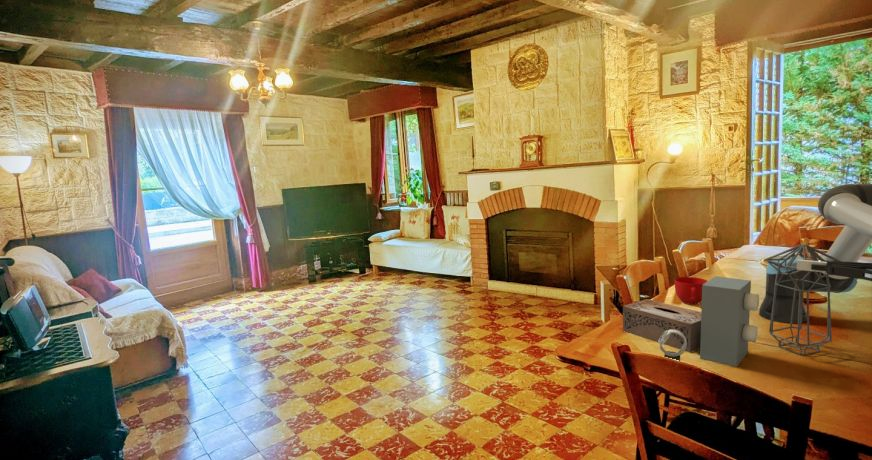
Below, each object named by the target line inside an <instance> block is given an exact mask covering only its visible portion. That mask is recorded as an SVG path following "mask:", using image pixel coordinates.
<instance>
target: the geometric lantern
mask: <svg viewBox="0 0 872 460" xmlns="http://www.w3.org/2000/svg"><path fill="white" fill-rule="evenodd" d="M825 253H826V252H823V251H820V249H817V248H815V247H813V246H810V245H808V244H804V243H801V244H798V245H796V246H794V247H791V248H789V249H786V250H784V251H782V252H779V253H776V254H774V255H772V256H770V257H767V258H764V259H763V260H764V262H766V263H769V264H770V265H771V266H772V267H774V268H775V269H776V270H777V275H776V280H775V289H774V300H773V307H772V314H771V320H770V319H769V320H770V322H769V328H768V333H769V334H770V335H771V337H773V338H774V339H775V340H776V341H777V342H778V345H777V347H778V348H780V349H783V350H785V351H789V352H790V353H791V352H792V353H795V354H797V355H800V356H807V355H811V354H815V353H819V352H820V346H822V345H826V344H828V343H831V342H833V338H832V337H833V336H832V318H831V317H832V315H831V313H832V312H831V292H830V287H831V285H830V283H829V277H828V275H829V274H826V273H825V274H826V275H823V276H821V272H820V275H819V274H818V273H817V272H815V271H813V272H814V273H815V274H816V275H817V276H818V277H819V278H818V280H819V279H820V278H823V277H827V285H825V284H820V283H816V282H817V281H818V280H817V281H816V282H811V281H807V280H804V279H805V278H806V277H807V276H808V275H809V274H810V273H811V272H812V271H809V272H808V273H807V274H806V275H805V277H804V278H803V279H802V280H801V279H799V278H798V277H797V276H796V275H795V273H798V272H801V271H803V270H798V271H795V272H793V271H792V270H791V268H794V269H797V267H791V264H792V263H793V261H794V260H795V258H796V257H802V258H803V259H804V260H808V259H809V260H810V261H818V260H819V261H821V262H827V261H828V260H824V259H823V258H822V257H820V255H821V254H822V255H824V256H826V257H828V258H830V259H832V260H834V261H839V260H837V259H835V258H833V257H831V256H829V255H827V254H825ZM781 255H783V256H781ZM807 255H808V256H807ZM787 256H788V257H787ZM777 257H781V258H779V259H773V258H777ZM784 257H787V258H784ZM791 257H792V258H791ZM783 258H784V259H783ZM790 258H791V260H790V261H789V263H788V264H787V266H786V261H787V260H788V259H790ZM817 258H818V259H817ZM780 260H784V261H782V262H781V263H779V261H780ZM774 261H778V262H774ZM784 262H785V266H784V265H782V264H783V263H784ZM830 262H832V261H830ZM773 264H774V265H776V266H778V269H777V268H776V267H775V266H774V265H773ZM777 264H778V265H777ZM780 268H786V270H787V273H782V272H781V271H780ZM788 268H789V269H790V270H791V271H792V273H788ZM778 274H782V276H783V275H789V276H790V278H791V279H790V280H785V281H780V280H781V278H782V276H781V278H780V280H779V281H778V282H777V279H778ZM792 274H794V275H795V276H796V277H797V279H793V277H792V276H791V275H792ZM791 280H792V281H793V282H794V284H795V289H794V288H790V287H786V286H782V285H779V283H780V282H786V281H791ZM797 281H802V290H801V289H800V288H799V286H798V285H797ZM804 281H806V282H811V283H814V284H813V285H812V286H811V288H812V287H813V286H814V285H815V284H820V285H824V286H827V288H821V289H815V290H810V289H811V288H810V289H809V290H810V291H809V290H808V291H805V290H804ZM777 286H782V287H786V288H789V289H793V290H794V298H793V306H792V315H791V323H789V324H790V325H789V326H787V327H782V328H781V327H780V328H778V329H774V322H775V321H774V311H775V300H776V293H777ZM797 288H798V289H799V290H798V289H797ZM822 289H827V292H826V293H827V314H826V315H827V321H826V322H827V323H826V324H827V325H826V327H827V329H826V333H827V334H826V335H825V334H822V333H818V332H816V331H813V330H810V301H809V300H810V292H811V291H817V290H822ZM796 290H797V291H800V292H799V309H798V323H797V326H793V324H794V323H793V315H794V306H795V298H796ZM801 292H802V294H801ZM804 293H806V312H807V321H806V328H804V327H803V322H802V315H803V303H804ZM811 293H812V292H811ZM800 312H801V315H800ZM787 329H789V330H790V334H791V336H789V337H785V338H784V337H782V336H779V335H777V334H774V332H779V331H783V330H787ZM793 329H797V332H796V335H795V336H794V333H793ZM801 330H802V331H806V334H807V335H806V336H807V337H806V339H804V338H801V337H800V331H801ZM810 333H811V334H814V335H818V336H821V337H823V339H822V340H821V341H818V342H815V341H812V340H810ZM790 339H791V340H790ZM794 339H795V342H794ZM827 339H828V340H827ZM800 340H802V341H805V342H806V343H800ZM783 341H786V342H783ZM792 344H793V345H792ZM795 345H796V346H795ZM783 346H789V347H792V348H795V349H798V350H799V352H797V351H794V350H791V349H789V348H785V347H783ZM802 347H804V348H802ZM812 348H813V349H812ZM810 349H812V350H814V351H811V352H807V350H810ZM815 349H816V350H815ZM802 351H804V352H803V353H802Z"/></svg>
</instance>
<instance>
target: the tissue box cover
mask: <svg viewBox="0 0 872 460" xmlns="http://www.w3.org/2000/svg"><path fill="white" fill-rule="evenodd" d="M671 329H672V330H678V331H680V332H681V333H683V334H684V336H685V337H686V340H687V347H686V349H685V351H684V352H686V353H690V354H691V353H692V352H695V351H697V350H700V342H701V311H699V310H695V309H691V308H686V307H684V306H683V307H682V306H678V305H674V304H669V303H666V302H661V301H657V300H654V299H649V298H646V299H642V300H640V301H635V302H632V303H628V304H625V305H622V332H624V331H625V333H627V332H628V334H630V333H631V335H633V334H634V336H637V337H640V338H643V339H646V340H648V341H649V340H650V341H652V342H655V343H658V341H659V339H660V337H661V335H662V334H663V333H664V332H665V331H666V330H667V331H668V330H671ZM684 342H685V340H684V338H683V337H682V336H680V334H677V333H671V334H670V336H669V338H668V340H667V341H666V342H665V343H664V344H663V345H664V346H665V345H666V346H668V347H672V348H674V349H677V350H680V349H681V348H682V346H683V345H684Z"/></svg>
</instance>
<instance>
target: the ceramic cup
mask: <svg viewBox="0 0 872 460" xmlns="http://www.w3.org/2000/svg"><path fill="white" fill-rule="evenodd" d="M708 281H709V280H707V279H704V278H702V277H701V278H700V277H697V276H696V277H695V276H692V277H691V276H679V277H676V278H674V290H675V293H676V296H677V297H678V299H679V300H680V301H681V302H682V304H685V305H693V306H695V305H699V304H700V303H702V285H703V284H705V283H706V282H708Z"/></svg>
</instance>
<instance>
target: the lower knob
mask: <svg viewBox="0 0 872 460" xmlns="http://www.w3.org/2000/svg"><path fill="white" fill-rule="evenodd" d="M742 339H743V340H745V341H748V342H750V343H756V342H757V339H758V326H757V325H751V324H749V325H747V324H745V325H744V327H743V328H742Z"/></svg>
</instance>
